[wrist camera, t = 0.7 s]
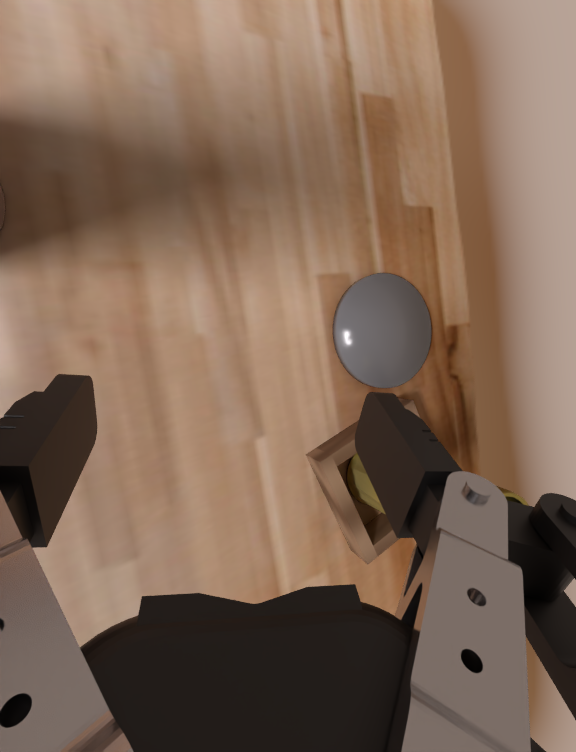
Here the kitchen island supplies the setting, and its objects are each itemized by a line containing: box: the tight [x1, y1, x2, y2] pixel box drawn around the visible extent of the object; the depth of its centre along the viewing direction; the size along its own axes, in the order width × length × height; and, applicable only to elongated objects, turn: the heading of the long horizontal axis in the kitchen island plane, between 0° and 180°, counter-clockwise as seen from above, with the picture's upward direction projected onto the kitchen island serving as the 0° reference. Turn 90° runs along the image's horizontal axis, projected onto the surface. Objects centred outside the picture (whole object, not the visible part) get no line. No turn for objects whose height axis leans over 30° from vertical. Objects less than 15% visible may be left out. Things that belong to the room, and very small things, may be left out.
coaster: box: [333, 273, 431, 388], centre depth 36 cm, size 11×11×1 cm
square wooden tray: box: [306, 398, 420, 564], centre depth 36 cm, size 11×11×3 cm
